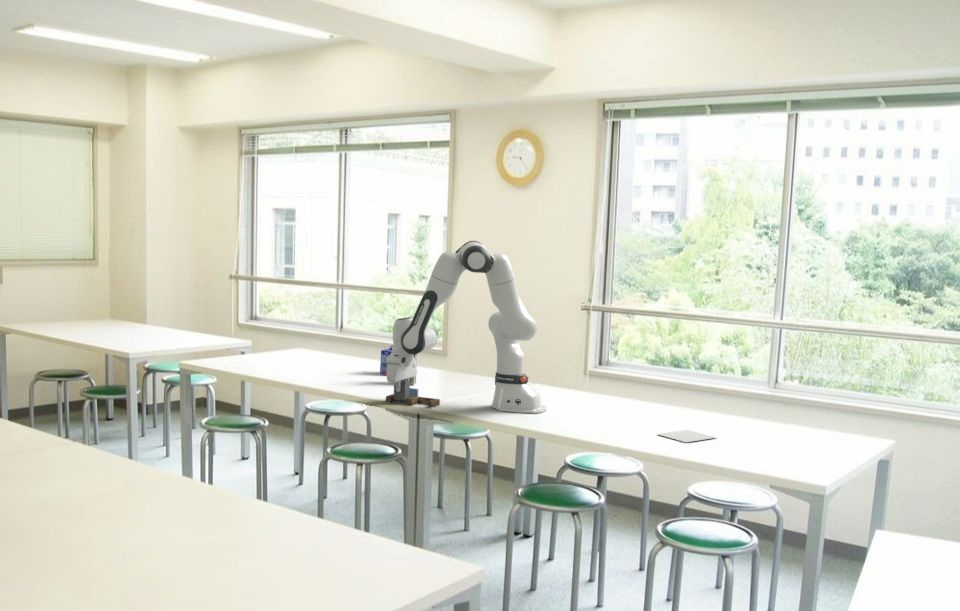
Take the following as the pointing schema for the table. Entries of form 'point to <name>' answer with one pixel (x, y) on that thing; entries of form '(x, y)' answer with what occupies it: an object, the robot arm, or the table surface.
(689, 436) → the paper stack
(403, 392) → the plug
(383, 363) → the ink cartridge box
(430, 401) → the brown frame
